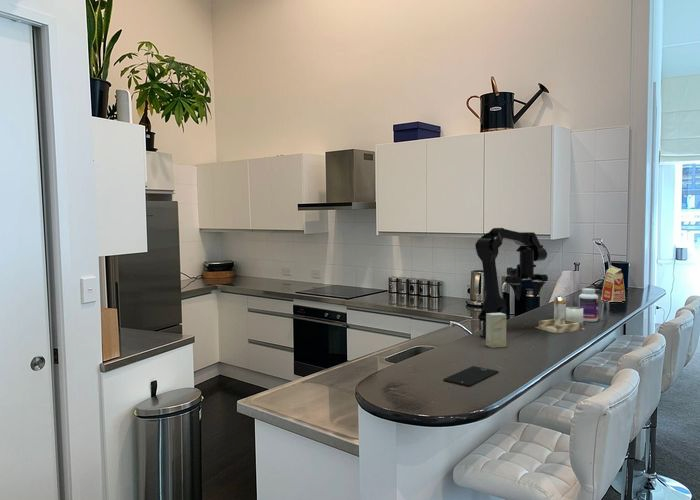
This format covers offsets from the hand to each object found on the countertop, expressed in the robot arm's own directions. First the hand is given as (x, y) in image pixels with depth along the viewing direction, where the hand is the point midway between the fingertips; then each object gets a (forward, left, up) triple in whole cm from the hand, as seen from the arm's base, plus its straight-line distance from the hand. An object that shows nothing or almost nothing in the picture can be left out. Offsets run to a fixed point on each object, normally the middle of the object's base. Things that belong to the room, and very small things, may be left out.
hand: (526, 299), depth 218 cm
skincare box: (-30, -16, -13) cm, 36 cm away
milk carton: (+93, +31, -13) cm, 99 cm away
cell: (+13, -6, -12) cm, 19 cm away
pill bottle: (+38, +1, -13) cm, 40 cm away
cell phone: (-61, -41, -14) cm, 75 cm away
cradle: (+13, -6, -13) cm, 19 cm away
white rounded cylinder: (+27, -1, -13) cm, 30 cm away
